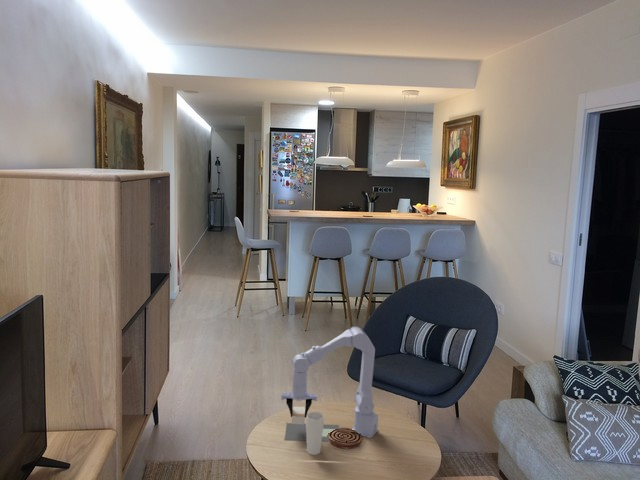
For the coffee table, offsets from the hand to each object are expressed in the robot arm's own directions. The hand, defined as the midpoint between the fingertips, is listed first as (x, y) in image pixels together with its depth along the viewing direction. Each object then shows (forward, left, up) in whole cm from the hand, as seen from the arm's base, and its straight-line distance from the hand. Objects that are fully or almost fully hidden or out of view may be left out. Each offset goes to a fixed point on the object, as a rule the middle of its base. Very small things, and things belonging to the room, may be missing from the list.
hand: (298, 416), depth 217 cm
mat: (-5, -3, -7) cm, 10 cm away
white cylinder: (-13, +9, -8) cm, 17 cm away
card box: (0, 0, -1) cm, 1 cm away
